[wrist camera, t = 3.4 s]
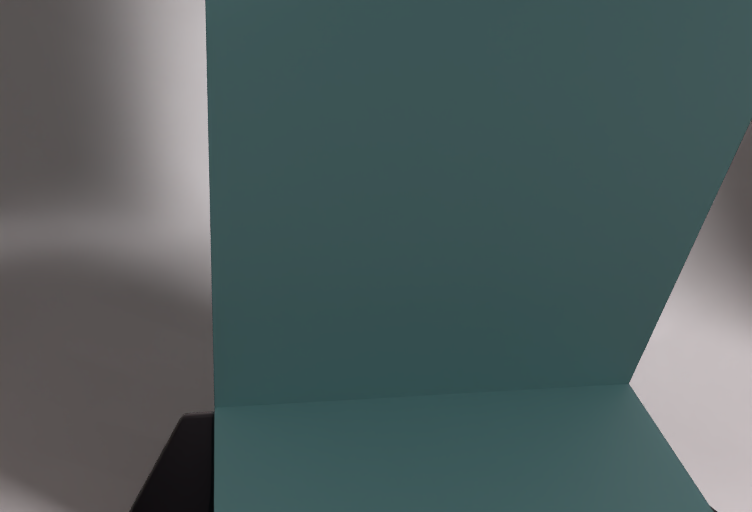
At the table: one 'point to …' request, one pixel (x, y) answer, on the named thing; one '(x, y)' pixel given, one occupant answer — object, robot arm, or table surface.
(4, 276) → the table surface
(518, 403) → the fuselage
